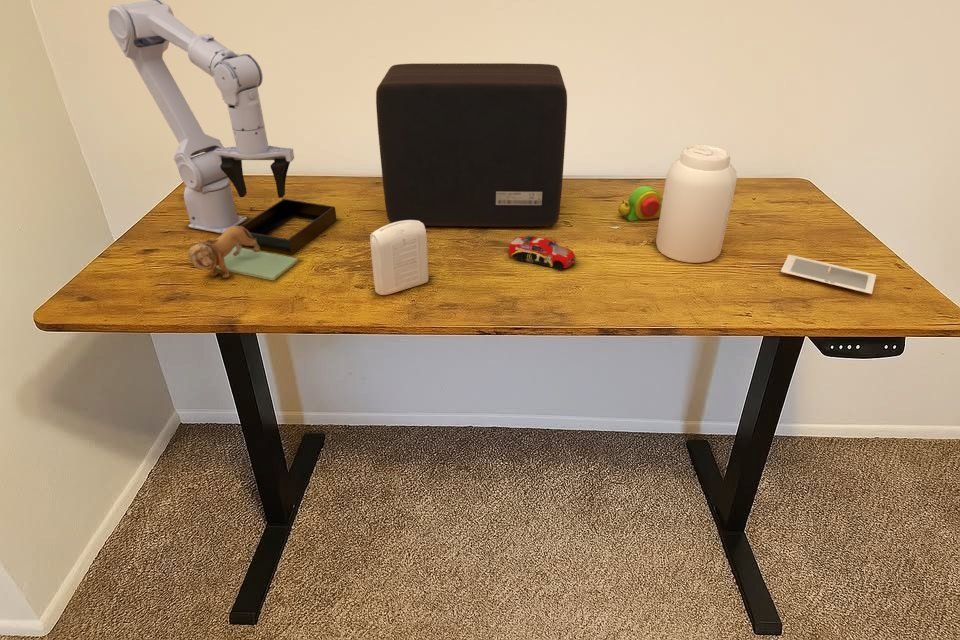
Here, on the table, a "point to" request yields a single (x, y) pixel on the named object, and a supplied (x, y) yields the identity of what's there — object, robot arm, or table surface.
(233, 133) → the robot arm
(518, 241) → the race car
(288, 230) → the table surface
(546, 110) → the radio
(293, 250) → the picture frame
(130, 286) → the table surface
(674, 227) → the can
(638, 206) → the toy snail
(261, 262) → the sage mat
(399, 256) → the photo printer
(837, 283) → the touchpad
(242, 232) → the lion figurine
